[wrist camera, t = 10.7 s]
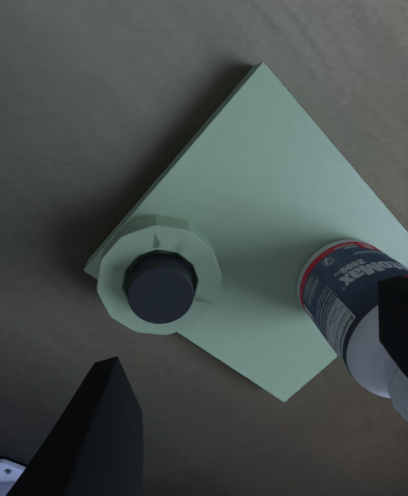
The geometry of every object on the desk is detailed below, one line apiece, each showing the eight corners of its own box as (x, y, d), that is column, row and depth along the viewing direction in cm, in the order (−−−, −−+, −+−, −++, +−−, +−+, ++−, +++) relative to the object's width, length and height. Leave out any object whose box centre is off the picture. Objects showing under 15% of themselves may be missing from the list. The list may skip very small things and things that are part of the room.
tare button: (203, 276, 17) (207, 292, 15) (164, 316, 17) (165, 335, 16) (156, 240, 16) (156, 254, 14) (116, 285, 16) (113, 302, 15)
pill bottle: (389, 234, 19) (567, 330, 11) (372, 312, 21) (511, 444, 13) (298, 240, 18) (415, 347, 10) (290, 320, 20) (382, 464, 12)
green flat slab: (422, 259, 22) (461, 281, 19) (272, 391, 24) (288, 427, 21) (254, 64, 16) (275, 55, 13) (82, 265, 19) (70, 292, 16)
